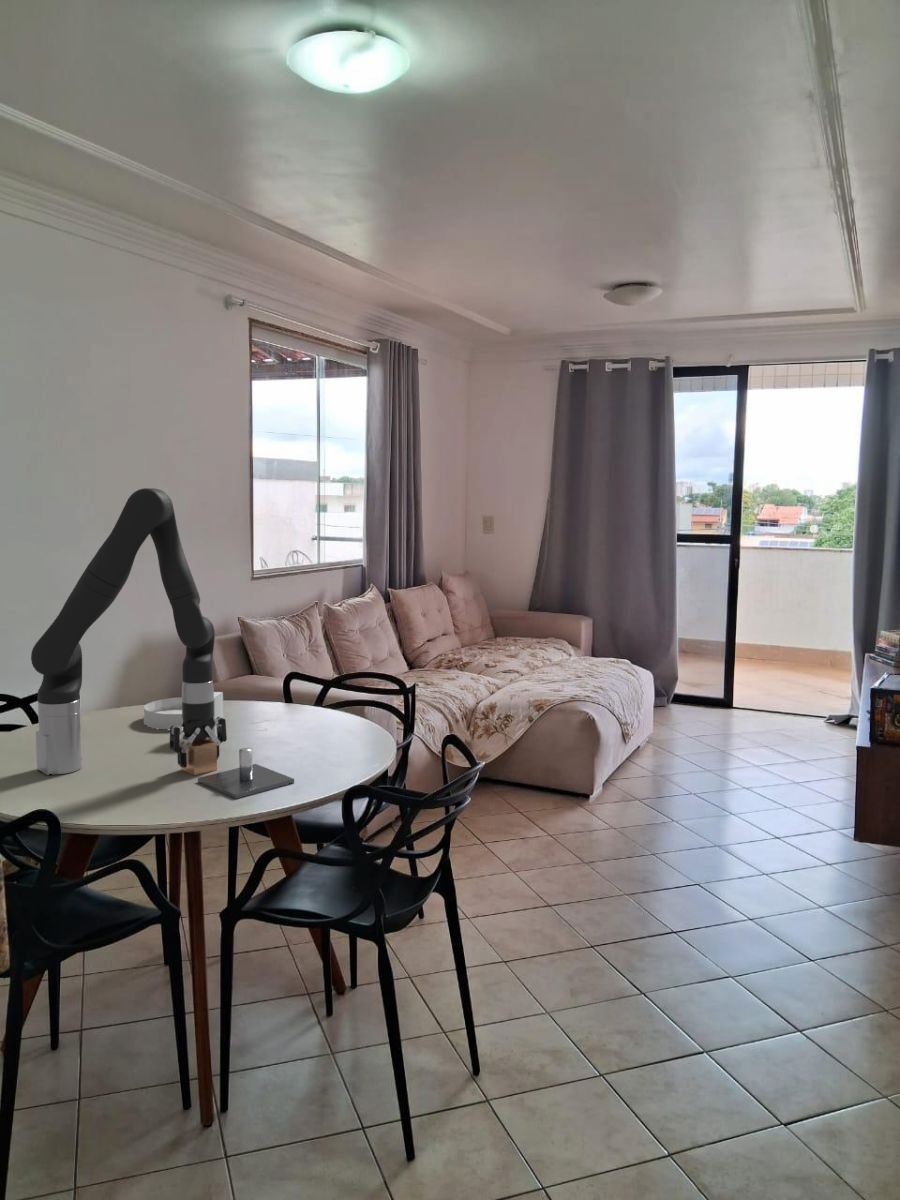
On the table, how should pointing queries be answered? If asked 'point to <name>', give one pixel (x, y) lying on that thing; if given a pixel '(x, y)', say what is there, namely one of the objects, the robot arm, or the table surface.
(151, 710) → the dish
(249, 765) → the grey square plate
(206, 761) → the wooden cubby box
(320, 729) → the table surface
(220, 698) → the supplement box
